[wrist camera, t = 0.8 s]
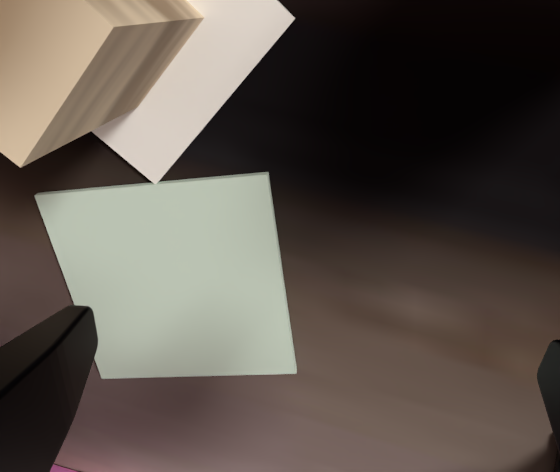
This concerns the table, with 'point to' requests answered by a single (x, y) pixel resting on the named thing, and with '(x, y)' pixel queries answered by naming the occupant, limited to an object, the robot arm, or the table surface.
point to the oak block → (80, 65)
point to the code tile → (196, 82)
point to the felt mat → (176, 275)
